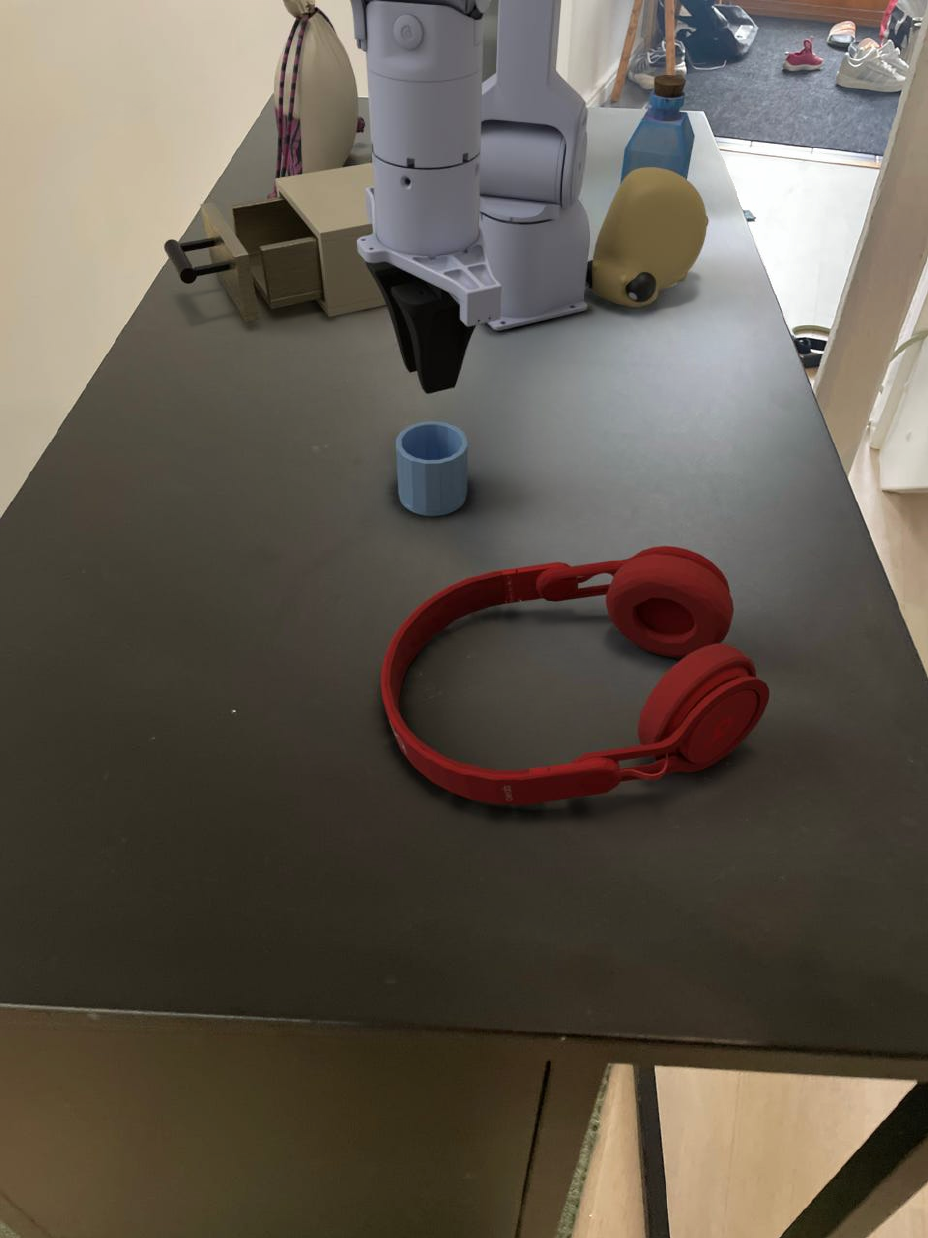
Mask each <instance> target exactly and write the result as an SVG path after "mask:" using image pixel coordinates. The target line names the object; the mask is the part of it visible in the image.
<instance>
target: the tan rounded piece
mask: <svg viewBox="0 0 928 1238" xmlns="http://www.w3.org/2000/svg"><path fill="white" fill-rule="evenodd" d="M706 210H707V209H706V205H705V202H704V200H703V198H702V195H701V194H700V193H699V191H698V189H697V188H696V187H695V186H694V185H693V184H692V183H691V182H690V181H689V180H688V178H687V179H685V178H684V177H682V176H681V175H679V174H677V173H675V172H672V171H670V170H666V169H662V168H655V167H646V168H639V169H636V170H634V171H632V172H630V173H629V174H628V175H627V176H626V177H625V178H624V180H623V181H622V183H621V184H620V183H619V186H618V187H617V190H616V192H615V194H614V196H613V198H612V201H611V203H610V205H609V207H608V210H607V212H606V215H605V217H604V219H603V222H602V224H601V227H600V229H599V232H598V234H597V238H596V242H595V246H594V251H593V256H592V259H590V260H588V264H587V273H586V282H585V288H587V289H589V290H590V291H591V292H592V293H593V294H595V295H596V296H598V297H599V298H602V299H603V300H606V301H608V302H611V303H613V304H615V305H616V304H617V305H619V306H622V307H626V308H642V307H645V306H648V305H651V304H652V303H653V302H655V300H656V299H657V298H658V294H659V293H658V292H659V291H664V290H665V289H668V288H670V287H672V286H674V285H676V284H677V283H683V282H685V280H686V279H687V278H688V273H689V272H690V271H691V269H692V268H693V266H694V265H695V263H696V262H697V260H698V258H699V256H700V254H701V252H702V249H703V247H704V244H705V240H706V236H707V229H708V228H707V227H708V225H709V223H710V221H709V217H708V215H707V211H706Z"/></svg>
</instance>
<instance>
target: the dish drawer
mask: <svg viewBox="0 0 928 1238" xmlns="http://www.w3.org/2000/svg"><path fill="white" fill-rule="evenodd" d="M199 205H200V210H201V216H202V221H203V226H204V231H205V236H206V238H204V239H203V238H201V239H198V240H192V241H187V242H181V243H179V241H178V240H176V239H168V240H166V242H164V244H163V250H164V251H165V253H166V255H167V257H168V259H169V261H170V263H171V264H172V266H173V268H174V270H175V271H176V273H177V275H178V277H179V279H180V280H181V282H182V283H184V284H186V285H191V284H193V283H194V282H196V280H197V277H203V276H207V275H211V274H216V275H217V276H218V278H219V280H220V282H221V283H222V285H223V286H224V288H225V289H226V292H227V293H228V295H229V296H230V298H231V300H232V301H233V303H234V305H235V306H236V308H237V310H238V311H239V313H240V314H241V316H242V317H243V319H244V321H245V322H251V321H255V320H260V315H259V309H258V302H257V295H256V290H255V287H256V288H257V289H258V291H259V292H260V294H261V295H262V297H263V299H264V300H265V302H266V303H267V305H268V307H269V308H270V309H272V310H273V309H276V308H280V307H286V306H291V305H296V304H300V303H305V302H311V301H315V300H316V299H320V298H324V289H323V279H322V270H321V261H320V251H319V242H318V238H317V236H316V235H315V234H314V233H313V232H312V230H311V229H310V228H309V227H308V225H307V224H306V223H305V222H304V221H303V219H302V218H301V217H300V216H299V214H298V213H297V212H296V211H295V210H294V208H293V207H292V206H291V205H290V203H289V202H288V201H287V200H286V199H285V197H284V196H280V197H274V198H268V199H267V198H263V199H258V200H250V201H246V202H245V201H244V202H240V203H233V204H230V205H229V206H230V213H231V219H232V225H233V229H232V228H231V226H230V225H229V222H227V220H226V219H225V217H224V216H223V214H222V213H221V212H220V210H219V209H218V207H217V206H216V204H215V202H214V201H212V202H211V201H210V202H206V203H201V204H199ZM202 249H208V252H209V256H210V264H209V263H208V264H205V265H198V266H193V265H192V263H191V261H190V259H189V258H188V255H186V253H187V252H191V251H192V252H193V251H197V250H202Z"/></svg>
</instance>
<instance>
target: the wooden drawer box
mask: <svg viewBox="0 0 928 1238" xmlns="http://www.w3.org/2000/svg"><path fill="white" fill-rule="evenodd" d="M275 182H276V189H277V197H280V196H284V197H285V199H286V200H287V201H288V202H289V203H290V205H291V206H292V207H293V208H294V210H295V211H296V212H297V213H298V214H299V216H300V217H301V218H302V219H303V221H304V222H305V223H306V224H307V225H308V227H309V228H310V229H311V230H312V232H313V233H314V234H315V235H316V236H317V238H318V242H319V251H320V261H321V270H322V279H323V289H324V298H320V299H315V300H316V302H317V303H318V304H319V306H320V307H321V308H322V310H323V311H324V313H325V314H326V315H327V317H328V318H332V317H336V316H342V315H345V314H351V313H356V312H359V311H364V310H368V309H369V310H370V309H374V308H379V307H383V306H387V305H386V302H385V300H384V298H383V295H382V293H381V291H380V289H379V287H378V285H377V283H376V281H375V279H374V277H373V276H372V274H371V273H370V271H369V269H368V268H367V266H366V261H365V260H364V259H363V257H362V256H361V255H360V254H359V253H358V250H357V240H358V239H359V238H360V237H363V236H368V235H371V234H373V225H372V224H371V223H370V222H369V221H368V220H367V212H366V197H365V188H368V187H374V180H373V162H368V163H362V164H356V165H349V166H343V167H342V168H337V169H331V170H325V171H318V172H312V173H306V174H300V175H294V176H288V175H287V176H285V177H282V178H281V177H280V178H276V179H275V178H274V183H275Z"/></svg>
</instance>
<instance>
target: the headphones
mask: <svg viewBox="0 0 928 1238" xmlns="http://www.w3.org/2000/svg"><path fill="white" fill-rule="evenodd" d="M603 574H608V575H610V576H611V577H612V579H611V582H610V583H606V584H599V585H591V586H585V587H579V584H582V583H585V582H588V581H589V580H590V579H592V578H593V577H595V576H598V575H603ZM599 596H605V606H606V610H607V614H608V617H609V619H610V621H611V622H612V624H613V626H614V627H615V628H616V629H617V631H618V632H619V633H620V634H621V635H622V636H623V637H624V638H625V639H627V640H628V641H629V642H631V643H632V644H633V645H635V646H637V647H639V648H641V649H643V650H644V651H647V652H650V653H652V654H655V655H660V656H663V657H669V658H677V659H678V658H682V659H680V660H679V661H678V662H677V663H675V664H674V665H673V666H671V668H670V669H668V671H666V673H665V674H663V676H662V677H660V679H659V681H658V682H657V683H656V685H655V686H654V688H653V689H652V690H651V691H650V693H649V695H648V697H647V699H646V701H645V703H644V705H643V706H642V708H641V710H640V714H639V718H638V723H637V737H638V740H639V744H640V745H634V746H627V747H620V748H613V749H606V750H598V751H591V752H585V753H583V754H581V755H580V756H578V757H577V758H575V759H574V760H572V762H570V763H569V762H568V763H562V764H561V763H560V764H554V765H549V766H547V765H545V766H539V767H531V768H525V769H524V768H523V769H509V770H508V769H493V768H486V767H481V766H476V765H472V764H469V763H463V762H459V761H456V760H454V759H452V758H449V757H447V756H444V755H443V754H441V753H439V752H438V751H437V750H435V749H433V748H432V747H431V746H429V745H427V744H426V743H425V742H423V741H422V740H420V739H419V738H418V737H417V736H416V735H415V734H414V733H413V732H412V731H411V730H410V729H409V727H408V726H407V725H406V723H405V721H404V720H403V718H402V716H401V712H400V704H399V700H400V695H401V691H402V686H403V682H404V677H405V675H406V673H407V671H408V668H409V666H410V664H411V663H412V662H413V661H414V659H415V658H416V657H417V655H418V654H419V652H420V651H421V650H422V648H423V647H424V645H426V644H427V643H428V642H429V640H431V639H432V638H433V637H434V636H436V634H438V633H440V632H441V631H442V630H444V629H445V628H447V627H448V626H449V625H452V624H453V623H454V622H455V621H458V620H460V619H463V618H464V617H466V616H468V615H470V614H474V613H476V612H478V611H482V610H485V609H489V608H492V607H497V606H501V605H508V604H509V605H510V604H515V603H520V602H528V601H534V600H536V601H537V600H541V599H542V600H546V601H547V602H555V603H557V602H562V601H563V602H564V601H571V600H577V599H584V598H591V597H599ZM733 601H734V600H733V598H732V595H731V590H730V586H729V581H728V580H727V578H726V576H725V574H724V573H723V571H722V570H721V568H719V567H718V566H717V565H716V564H715V563H714V562H713V561H711V560H710V559H708V558H707V557H706V556H703V554H700V553H697V552H695V551H693V550H690V549H687V548H683V547H678V546H670V545H668V546H667V545H662V546H661V545H660V546H652V547H650V548H647V549H643V550H640V551H639V552H637V553H635V554H634V555H633V556H631V557H628V558H626V559H625V558H624V559H620V560H619V559H617V560H606V561H600V562H592V563H585V564H579V565H570V564H568V563H566V562H559V561H555V562H548V563H540V564H535V565H527V566H520V567H513V568H507V569H501V570H500V569H499V570H493V571H490V572H486V573H482V574H478V575H474V576H471V577H467V578H465V579H462V580H460V581H457V582H455V583H453V584H451V585H449V586H447V587H446V588H443V589H441V590H440V591H438V592H436V593H435V594H433V595H432V596H430V597H429V598H428V599H427V600H425V601H424V602H422V603H421V604H420V605H419V606H417V608H416V609H415V610H414V611H412V613H411V614H410V615H409V616H408V617H407V618H406V619H405V620H404V621H403V622H402V623H401V624H400V626H399V628H398V629H397V631H396V633H394V635H393V637H392V639H391V641H390V643H389V644H388V647H387V650H386V651H385V655H384V658H383V662H382V665H381V677H380V688H381V695H382V696H381V697H382V701H383V705H384V708H385V712H386V715H387V718H388V722H389V724H390V727H391V730H392V732H393V734H394V737H395V739H396V743H397V744H398V746H399V749H400V751H402V753H403V754H404V756H405V757H406V758H407V759H408V761H409V762H410V764H411V765H412V766H413V768H414V769H416V770H417V771H418V772H419V773H421V774H422V775H423V776H425V777H426V778H427V779H428V780H429V781H430V782H432V783H433V784H434V785H436V786H438V787H441V788H443V789H444V790H446V791H448V792H449V793H452V794H453V795H454V794H455V795H457V796H459V797H463V798H466V799H468V800H471V801H476V802H477V801H478V802H483V803H487V804H488V803H489V804H493V805H504V806H505V805H506V806H507V805H512V806H513V805H514V806H516V805H517V806H519V805H520V806H523V805H524V806H525V805H533V804H541V803H547V802H554V801H561V800H569V799H577V798H583V797H584V798H585V797H591V796H599V795H604V794H608V793H609V792H611V791H612V790H613V789H615V788H617V787H618V786H619V785H620V783H621V782H627V781H637V780H645V781H657V780H659V779H661V778H662V777H664V776H666V775H669V774H673V773H678V772H679V773H680V772H682V773H694V772H695V773H696V772H700V771H702V770H706V769H707V768H709V767H710V766H713V765H715V764H716V763H719V761H721V760H722V759H724V758H725V757H726V756H728V755H729V754H730V753H731V752H733V751H734V749H736V748H737V747H738V746H739V745H741V744H742V742H743V741H744V740H745V739H746V738H747V737H748V736H749V735H750V734H751V732H752V731H753V730H754V729H755V727H756V726H757V725H758V723H759V722H760V720H761V718H762V717H763V715H764V713H765V711H766V708H767V706H768V703H769V698H770V688H769V686H768V684H767V682H765V681H764V680H762V679H760V678H758V677H757V671H756V666H755V663H754V661H753V660H752V659H751V658H750V657H749V656H747V655H746V654H745V653H744V652H743V651H741V650H740V649H739V648H738V647H735V646H733V645H730V644H728V643H722V642H723V641H724V640H725V638H726V637H727V635H728V633H729V631H730V627H731V624H732V620H733V617H734V616H733V615H734V609H735V608H734V602H733ZM651 757H652V758H653V759H654V760H655V761H654V762H653V763H650V764H644V765H637V766H630V767H629V766H628V767H623V768H620V763H619V762H621V761H627V760H636V759H642V758H651Z"/></svg>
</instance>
